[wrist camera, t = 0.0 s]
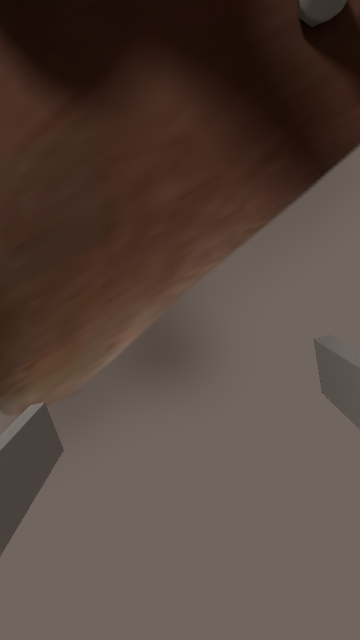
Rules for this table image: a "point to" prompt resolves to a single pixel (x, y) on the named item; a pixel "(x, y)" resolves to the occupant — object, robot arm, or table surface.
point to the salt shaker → (319, 10)
